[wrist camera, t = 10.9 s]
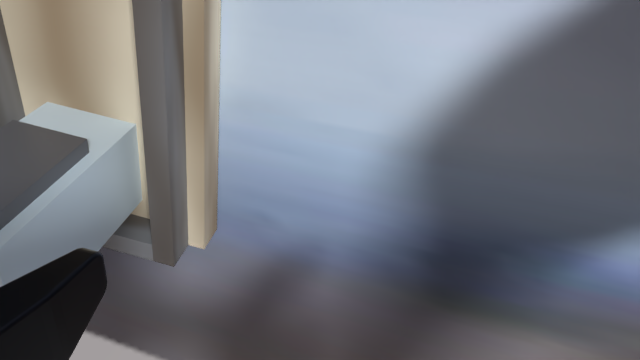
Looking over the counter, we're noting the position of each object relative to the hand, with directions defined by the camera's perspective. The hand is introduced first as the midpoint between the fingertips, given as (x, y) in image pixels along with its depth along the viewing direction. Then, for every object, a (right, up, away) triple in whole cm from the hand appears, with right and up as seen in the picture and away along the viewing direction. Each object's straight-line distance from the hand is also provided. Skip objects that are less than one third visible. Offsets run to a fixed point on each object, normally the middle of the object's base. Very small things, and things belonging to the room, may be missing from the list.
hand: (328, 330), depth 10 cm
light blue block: (-10, +4, +13) cm, 17 cm away
